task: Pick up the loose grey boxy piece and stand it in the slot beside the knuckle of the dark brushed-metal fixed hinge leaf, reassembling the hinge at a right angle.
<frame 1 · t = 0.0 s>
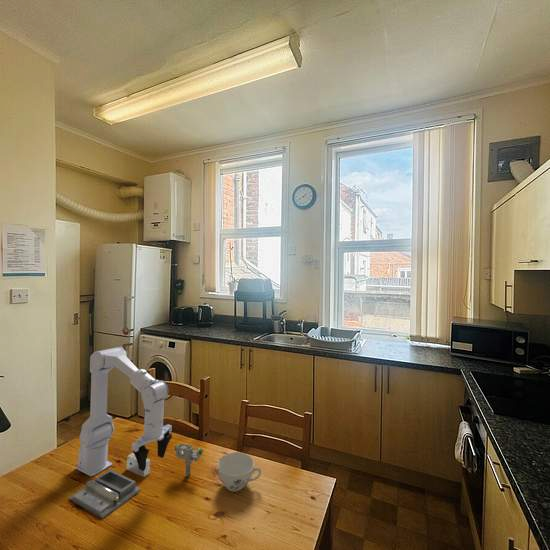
hand: (151, 462, 96), 10 cm above the table, fingers open, 7 cm apart
mechanical component: (187, 475, 105), on the table
teacup: (238, 487, 101), on the table
fixed leaf: (105, 495, 94), on the table
grey boxy piece: (137, 471, 106), on the table
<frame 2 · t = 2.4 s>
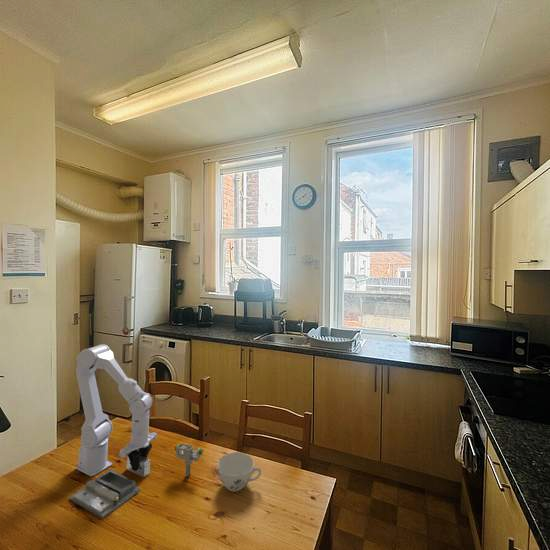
hand: (138, 467, 106), 1 cm above the table, fingers closed on grey boxy piece, 2 cm apart
grey boxy piece: (138, 471, 106), on the table, touching gripper
everything else where it was.
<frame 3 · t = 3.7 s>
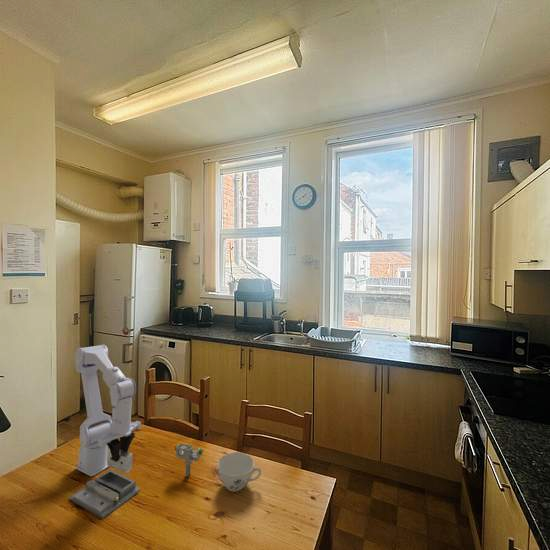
hand: (119, 458, 98), 9 cm above the table, fingers closed on grey boxy piece, 2 cm apart
grey boxy piece: (119, 467, 98), point 6 cm above the table, touching gripper
everything else where it was.
when the fingers open (3 cm above the table, at t = 5.2 s): grey boxy piece stays where it is, resting on fixed leaf.
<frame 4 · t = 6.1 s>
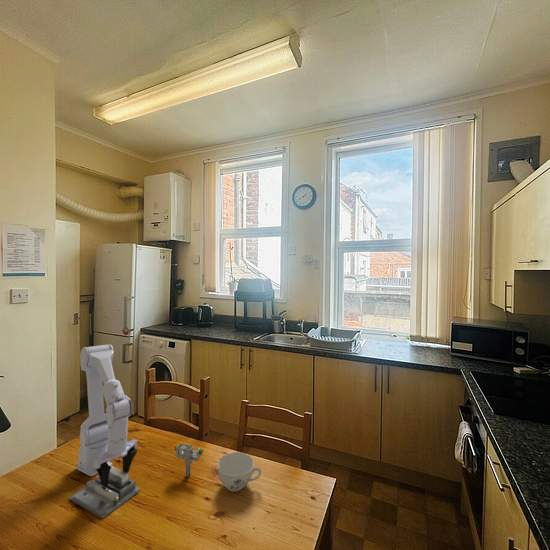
hand: (115, 478, 97), 3 cm above the table, fingers open, 7 cm apart
grey boxy piece: (115, 486, 97), point 1 cm above the table, touching fixed leaf
everything else where it was.
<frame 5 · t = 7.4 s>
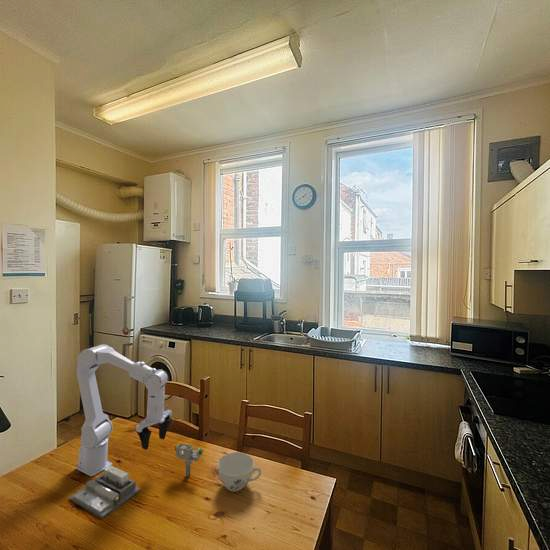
hand: (153, 443, 106), 10 cm above the table, fingers open, 7 cm apart
nothing on the table moved.
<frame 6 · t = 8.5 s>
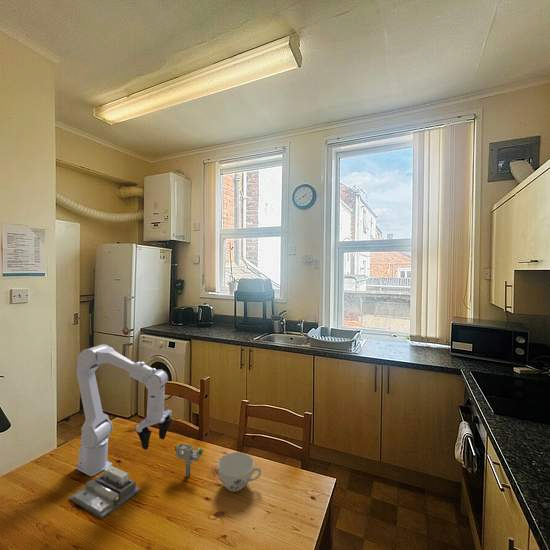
hand: (153, 443, 106), 10 cm above the table, fingers open, 7 cm apart
nothing on the table moved.
at the end: grey boxy piece 0.2 cm from the target spot on the fixed leaf, point 0.8 cm above the fixed leaf's base; grey boxy piece tilted 0°; the gripper is holding nothing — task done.
